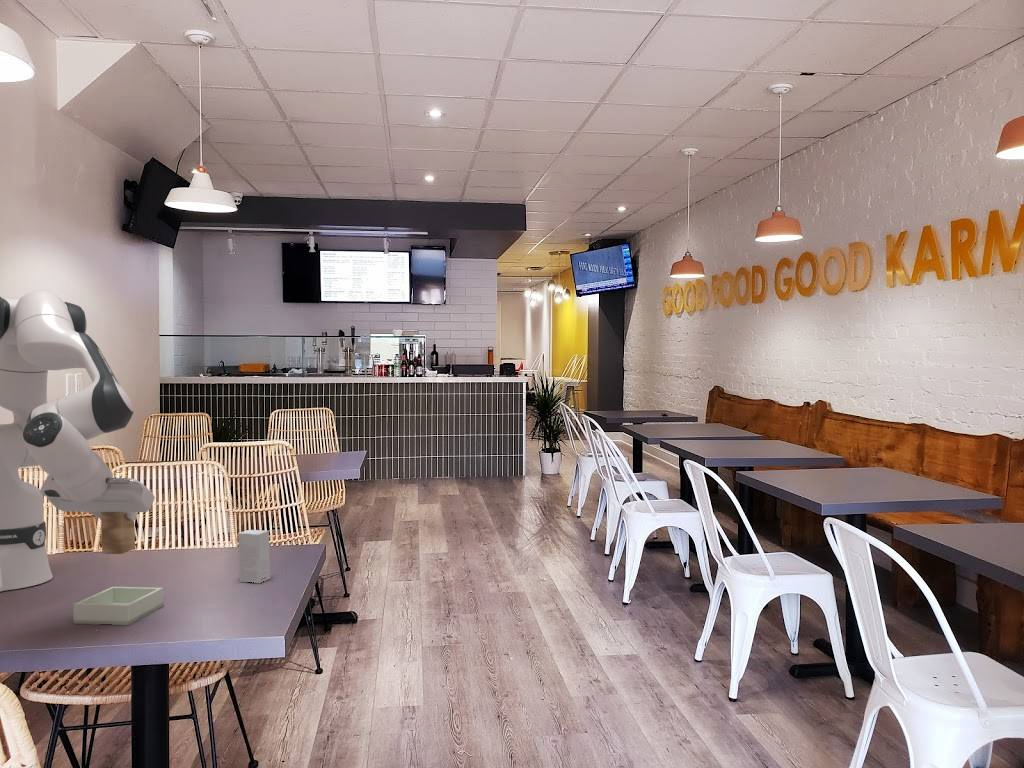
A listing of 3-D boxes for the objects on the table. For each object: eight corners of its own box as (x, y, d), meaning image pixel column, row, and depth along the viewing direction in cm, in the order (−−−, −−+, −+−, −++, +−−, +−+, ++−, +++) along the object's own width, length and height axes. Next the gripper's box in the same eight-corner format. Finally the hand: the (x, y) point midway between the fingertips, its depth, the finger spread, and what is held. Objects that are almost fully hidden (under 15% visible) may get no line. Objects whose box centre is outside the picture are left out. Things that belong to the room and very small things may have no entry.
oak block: (102, 553, 154) (100, 505, 153) (116, 548, 158) (114, 502, 158) (121, 554, 153) (120, 506, 153) (135, 548, 157) (133, 502, 157)
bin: (73, 623, 151) (73, 604, 151) (112, 604, 163) (112, 586, 162) (128, 625, 149) (127, 605, 149) (163, 606, 161) (163, 587, 161)
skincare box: (270, 579, 181) (269, 530, 180) (259, 584, 177) (258, 534, 176) (249, 577, 182) (248, 529, 182) (238, 582, 178) (237, 532, 178)
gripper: (141, 466, 147) (171, 505, 157) (47, 466, 149) (83, 505, 159) (127, 492, 143) (159, 531, 152) (31, 491, 145) (68, 530, 155)
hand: (119, 518), depth 156 cm, fingers closed on oak block, 4 cm apart
